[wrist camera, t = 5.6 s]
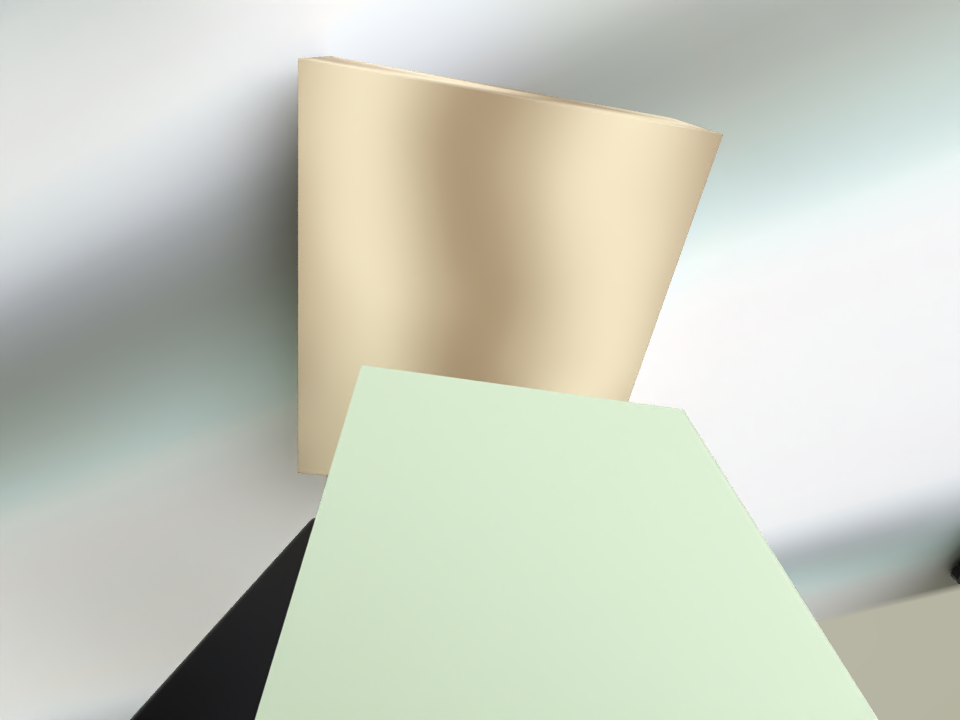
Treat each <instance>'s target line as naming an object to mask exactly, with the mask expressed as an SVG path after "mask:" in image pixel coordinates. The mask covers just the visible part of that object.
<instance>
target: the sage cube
mask: <svg viewBox="0 0 960 720" xmlns="http://www.w3.org/2000/svg"><path fill="white" fill-rule="evenodd" d="M255 720H878V719H877V717H876V715H875V714H874V712H873V711H872V709H871V707H870V706H869V704H868V703H867V701H866V699H865V698H864V696H863V695H862V693H861V692H860V690H859V688H858V687H857V685H856V684H855V682H854V680H853V679H852V677H851V676H850V674H849V673H848V671H847V670H846V668H845V666H844V664H843V663H842V661H841V660H840V658H839V657H838V655H837V653H836V652H835V650H834V649H833V647H832V645H831V644H830V642H829V641H828V639H827V637H826V636H825V634H824V633H823V631H822V630H821V628H820V626H819V625H818V623H817V621H816V620H815V618H814V617H813V615H812V614H811V612H810V610H809V609H808V607H807V606H806V604H805V602H804V601H803V599H802V598H801V596H800V594H799V593H798V591H797V590H796V588H795V586H794V585H793V583H792V582H791V580H790V579H789V577H788V575H787V574H786V572H785V571H784V569H783V567H782V566H781V564H780V563H779V561H778V559H777V558H776V556H775V555H774V553H773V551H772V550H771V548H770V547H769V545H768V543H767V542H766V540H765V539H764V537H763V536H762V534H761V532H760V531H759V529H758V528H757V526H756V524H755V523H754V521H753V520H752V518H751V516H750V515H749V513H748V512H747V510H746V508H745V507H744V505H743V504H742V502H741V501H740V499H739V497H738V496H737V494H736V493H735V491H734V489H733V488H732V486H731V485H730V483H729V481H728V480H727V478H726V477H725V475H724V473H723V472H722V470H721V469H720V467H719V466H718V464H717V462H716V461H715V459H714V458H713V456H712V454H711V453H710V451H709V450H708V448H707V446H706V445H705V443H704V442H703V440H702V438H701V437H700V435H699V434H698V432H697V431H696V429H695V427H694V426H693V424H692V423H691V421H690V419H689V418H688V416H687V415H686V413H685V411H684V410H683V409H676V408H669V407H662V406H655V405H648V404H640V403H633V402H626V401H619V400H612V399H604V398H597V397H590V396H583V395H575V394H568V393H561V392H554V391H547V390H539V389H532V388H525V387H518V386H510V385H503V384H496V383H489V382H482V381H474V380H467V379H460V378H453V377H446V376H438V375H431V374H424V373H417V372H409V371H402V370H395V369H388V368H381V367H373V366H366V365H362V366H361V369H360V372H359V376H358V379H357V382H356V386H355V389H354V392H353V396H352V399H351V402H350V406H349V409H348V412H347V416H346V419H345V422H344V426H343V429H342V432H341V435H340V439H339V442H338V445H337V449H336V452H335V455H334V459H333V462H332V465H331V469H330V472H329V475H328V479H327V482H326V485H325V489H324V492H323V495H322V499H321V502H320V505H319V508H318V512H317V515H316V518H315V522H314V525H313V528H312V532H311V535H310V538H309V542H308V545H307V548H306V552H305V555H304V558H303V562H302V565H301V568H300V572H299V575H298V578H297V581H296V585H295V588H294V591H293V595H292V598H291V601H290V605H289V608H288V611H287V615H286V618H285V621H284V625H283V628H282V631H281V635H280V638H279V641H278V645H277V648H276V651H275V654H274V658H273V661H272V664H271V668H270V671H269V674H268V678H267V681H266V684H265V688H264V691H263V694H262V698H261V701H260V704H259V708H258V711H257V714H256V718H255Z"/></svg>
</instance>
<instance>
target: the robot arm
mask: <svg viewBox="0 0 960 720" xmlns="http://www.w3.org/2000/svg"><path fill="white" fill-rule="evenodd" d="M314 522H315V518H313V519H312V520H311V521H310V522H309V523H308V524H307V525H306V526H305V527H304V528H303V529H302V530H301V531H300V532H299V534H298V535H297V536H296V537H295V538H294V539H293V540H292V541H291V542H290V544H289V545H288V546H287V547H286V548H285V549H284V550H283V551H282V552H281V553H280V555H279V556H278V557H277V558H276V559H275V560H274V561H273V562H272V563H271V565H270V566H269V567H268V568H267V569H266V570H265V571H264V572H263V573H262V574H261V576H260V577H259V578H258V579H257V580H256V581H255V582H254V583H253V584H252V586H251V587H250V588H249V589H248V590H247V591H246V592H245V593H244V594H243V595H242V597H241V598H240V599H239V600H238V601H237V602H236V603H235V604H234V605H233V607H232V608H231V609H230V610H229V611H228V612H227V613H226V614H225V615H224V616H223V618H222V619H221V620H220V621H219V622H218V623H217V624H216V625H215V626H214V628H213V629H212V630H211V631H210V632H209V633H208V634H207V635H206V636H205V638H204V639H203V640H202V641H201V642H200V643H199V644H198V645H197V646H196V647H195V649H194V650H193V651H192V652H191V653H190V654H189V655H188V656H187V657H186V659H185V660H184V661H183V662H182V663H181V664H180V665H179V666H178V667H177V668H176V670H175V671H174V672H173V673H172V674H171V675H170V676H169V677H168V678H167V680H166V681H165V682H164V683H163V684H162V685H161V686H160V687H159V688H158V689H157V691H156V692H155V693H154V694H153V695H152V696H151V697H150V698H149V699H148V701H147V702H146V703H145V704H144V705H143V706H142V707H141V708H140V709H139V710H138V712H137V713H136V714H135V715H134V716H133V717H132V718H131V719H130V720H255V718H256V714H257V711H258V708H259V704H260V701H261V698H262V694H263V691H264V688H265V684H266V681H267V678H268V674H269V671H270V668H271V664H272V661H273V658H274V654H275V651H276V648H277V645H278V641H279V638H280V635H281V631H282V628H283V625H284V621H285V618H286V615H287V611H288V608H289V605H290V601H291V598H292V595H293V591H294V588H295V585H296V581H297V578H298V575H299V572H300V568H301V565H302V562H303V558H304V555H305V552H306V548H307V545H308V542H309V538H310V535H311V532H312V528H313V525H314ZM951 576H952V577H953V578H954V579H955V580H956V581H957V583H958V584H960V562H959V564H958V565H957V566H956V567H955V568H954V569H953V570H952V572H951Z"/></svg>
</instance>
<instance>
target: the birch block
mask: <svg viewBox="0 0 960 720" xmlns="http://www.w3.org/2000/svg"><path fill="white" fill-rule="evenodd" d="M722 136H723V135H722V134H719V133H716V132H713V131H710V130H707V129H704V128H701V127H698V126H695V125H691V124H688V123H685V122H682V121H679V120H676V119H673V118H669V117H663V116H658V115H652V114H647V113H641V112H636V111H630V110H625V109H619V108H614V107H608V106H603V105H597V104H592V103H586V102H580V101H575V100H569V99H564V98H558V97H553V96H547V95H542V94H536V93H531V92H525V91H520V90H514V89H509V88H503V87H498V86H492V85H487V84H481V83H476V82H470V81H465V80H459V79H454V78H448V77H443V76H437V75H432V74H426V73H420V72H415V71H409V70H404V69H398V68H393V67H387V66H382V65H376V64H371V63H365V62H360V61H354V60H349V59H343V58H338V57H332V56H327V57H312V58H298V473H307V474H318V475H329V472H330V469H331V465H332V462H333V459H334V455H335V452H336V449H337V445H338V442H339V439H340V435H341V432H342V429H343V426H344V422H345V419H346V416H347V412H348V409H349V406H350V402H351V399H352V396H353V392H354V389H355V386H356V382H357V379H358V376H359V372H360V369H361V366H362V365H366V366H373V367H381V368H388V369H395V370H402V371H409V372H417V373H424V374H431V375H438V376H446V377H453V378H460V379H467V380H474V381H482V382H489V383H496V384H503V385H510V386H518V387H525V388H532V389H539V390H547V391H554V392H561V393H568V394H575V395H583V396H590V397H597V398H604V399H612V400H619V401H626V402H628V400H629V398H630V395H631V392H632V389H633V386H634V384H635V381H636V378H637V375H638V372H639V369H640V367H641V364H642V361H643V358H644V355H645V353H646V350H647V347H648V344H649V341H650V339H651V336H652V333H653V330H654V327H655V324H656V322H657V319H658V316H659V313H660V310H661V308H662V305H663V302H664V299H665V296H666V294H667V291H668V288H669V285H670V282H671V279H672V277H673V274H674V271H675V268H676V265H677V263H678V260H679V257H680V254H681V251H682V249H683V246H684V243H685V240H686V237H687V234H688V232H689V229H690V226H691V223H692V220H693V218H694V215H695V212H696V209H697V206H698V203H699V201H700V198H701V195H702V192H703V189H704V187H705V184H706V181H707V178H708V175H709V173H710V170H711V167H712V164H713V161H714V158H715V156H716V153H717V150H718V147H719V144H720V142H721V139H722Z"/></svg>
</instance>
